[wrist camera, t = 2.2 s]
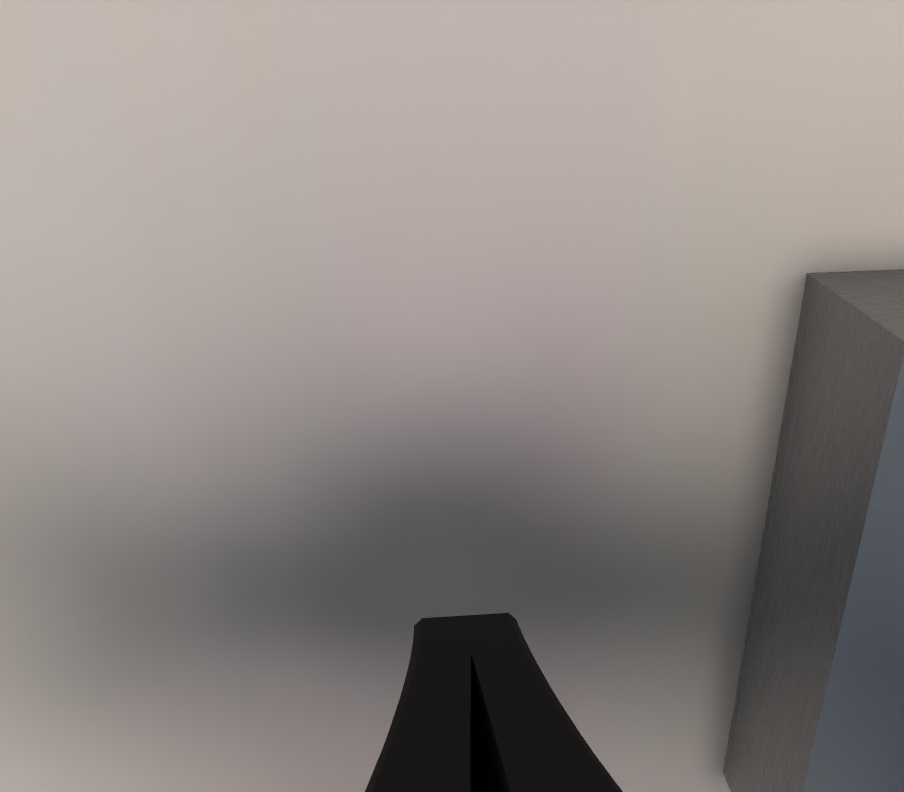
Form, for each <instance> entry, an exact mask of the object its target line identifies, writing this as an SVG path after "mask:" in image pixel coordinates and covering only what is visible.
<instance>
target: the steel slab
mask: <svg viewBox="0 0 904 792" xmlns="http://www.w3.org/2000/svg"><path fill="white" fill-rule="evenodd" d="M723 774H724V776H725V778H726V781H727V783H728V786H729V788H730V791H731V792H904V269H900V270H875V271H851V272H827V273H807V278H806V283H805V289H804V295H803V301H802V307H801V313H800V319H799V325H798V331H797V337H796V343H795V349H794V355H793V361H792V367H791V372H790V378H789V384H788V390H787V396H786V402H785V408H784V414H783V420H782V426H781V432H780V438H779V444H778V450H777V456H776V462H775V467H774V473H773V479H772V485H771V491H770V497H769V503H768V509H767V515H766V521H765V527H764V533H763V539H762V545H761V551H760V557H759V562H758V568H757V574H756V580H755V586H754V592H753V598H752V604H751V610H750V616H749V622H748V628H747V634H746V640H745V646H744V652H743V657H742V663H741V669H740V675H739V681H738V687H737V693H736V699H735V705H734V711H733V717H732V723H731V729H730V735H729V741H728V747H727V752H726V758H725V764H724V770H723Z"/></svg>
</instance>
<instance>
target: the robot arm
mask: <svg viewBox="0 0 904 792" xmlns="http://www.w3.org/2000/svg"><path fill="white" fill-rule="evenodd" d="M365 792H622V790H621V789H620V788H619V786H618V785H617V784H616V783H615V781H614V780H613V779H612V777H611V776H610V774H609V773H608V772H607V770H606V769H605V768H604V766H603V765H602V764H601V762H600V761H599V760H598V758H597V757H596V756H595V754H594V753H593V751H592V750H591V749H590V747H589V746H588V744H587V743H586V741H585V740H584V739H583V737H582V736H581V734H580V733H579V731H578V730H577V728H576V726H575V725H574V723H573V722H572V720H571V719H570V717H569V716H568V714H567V713H566V711H565V710H564V708H563V707H562V705H561V703H560V702H559V700H558V699H557V697H556V695H555V694H554V692H553V691H552V689H551V687H550V686H549V684H548V682H547V680H546V679H545V677H544V675H543V673H542V672H541V670H540V668H539V666H538V664H537V663H536V661H535V659H534V657H533V655H532V653H531V651H530V649H529V647H528V645H527V643H526V641H525V639H524V637H523V635H522V633H521V630H520V628H519V626H518V623H517V620H516V619H515V618H514V617H513V616H512V615H510V614H509V613H500V614H484V615H468V616H452V617H436V618H422V619H421V620H420V621H419V622H418V623H416V624H415V625H414V640H413V646H412V653H411V658H410V662H409V667H408V671H407V675H406V679H405V682H404V686H403V690H402V693H401V697H400V700H399V703H398V706H397V709H396V712H395V715H394V718H393V721H392V724H391V727H390V730H389V733H388V736H387V739H386V741H385V744H384V747H383V749H382V752H381V754H380V757H379V759H378V761H377V764H376V766H375V769H374V771H373V774H372V776H371V778H370V781H369V783H368V786H367V788H366V791H365Z"/></svg>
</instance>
